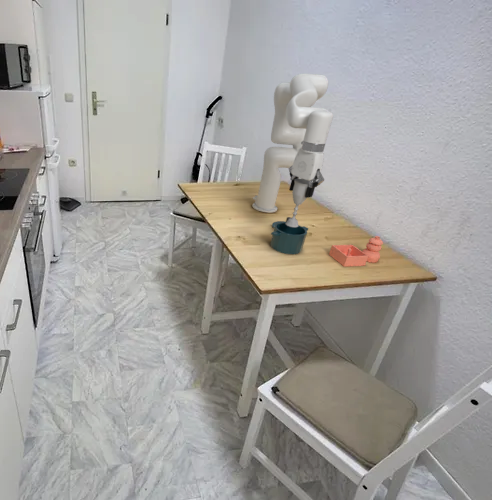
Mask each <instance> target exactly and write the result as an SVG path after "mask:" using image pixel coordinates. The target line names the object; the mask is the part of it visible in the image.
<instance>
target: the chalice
mask: <svg viewBox="0 0 492 500" xmlns="http://www.w3.org/2000/svg"><path fill="white" fill-rule="evenodd" d="M294 182H295V184H294V188H293V191H291V192H292V200H293V203H294V204H295V207H294V208H293V210H294V211H293V212H292V217H291V218H290V219H288V221H287V222H286V221H285V222H286V223H285V224H286V225H287V226H290V227H298V226H300V225H299V221H298V219H297V218H296V216H297V215H298V210H299V206H301V205H302V204H303V203H304V202H305V201H306V200H307V198H306V197H305V194H306V191H307V188H308V187H309V182H308V180H304V179H302V178H298V179H294ZM312 184H313V181H312Z"/></svg>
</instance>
